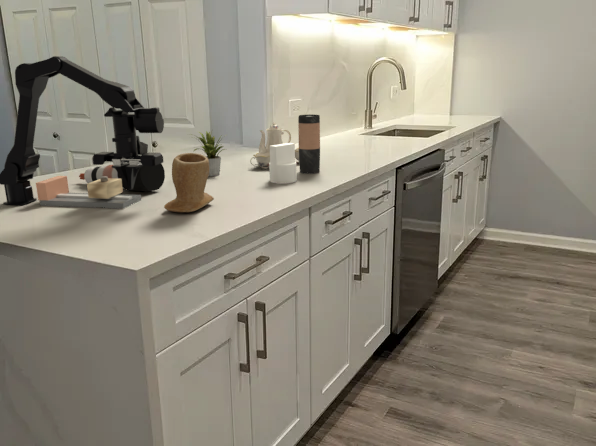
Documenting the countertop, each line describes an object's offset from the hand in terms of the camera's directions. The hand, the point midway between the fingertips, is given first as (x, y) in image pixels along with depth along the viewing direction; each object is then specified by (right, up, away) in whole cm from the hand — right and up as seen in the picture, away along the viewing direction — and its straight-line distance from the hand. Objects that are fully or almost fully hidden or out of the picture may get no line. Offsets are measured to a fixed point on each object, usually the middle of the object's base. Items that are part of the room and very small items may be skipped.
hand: (131, 189), depth 152 cm
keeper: (-8, -1, +2) cm, 8 cm away
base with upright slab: (+42, +4, +29) cm, 51 cm away
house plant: (+15, +8, +41) cm, 45 cm away
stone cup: (+18, -6, -4) cm, 20 cm away
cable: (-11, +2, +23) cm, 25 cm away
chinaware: (+40, +13, +60) cm, 73 cm away
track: (-13, -4, +4) cm, 14 cm away
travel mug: (+51, +9, +43) cm, 67 cm away
